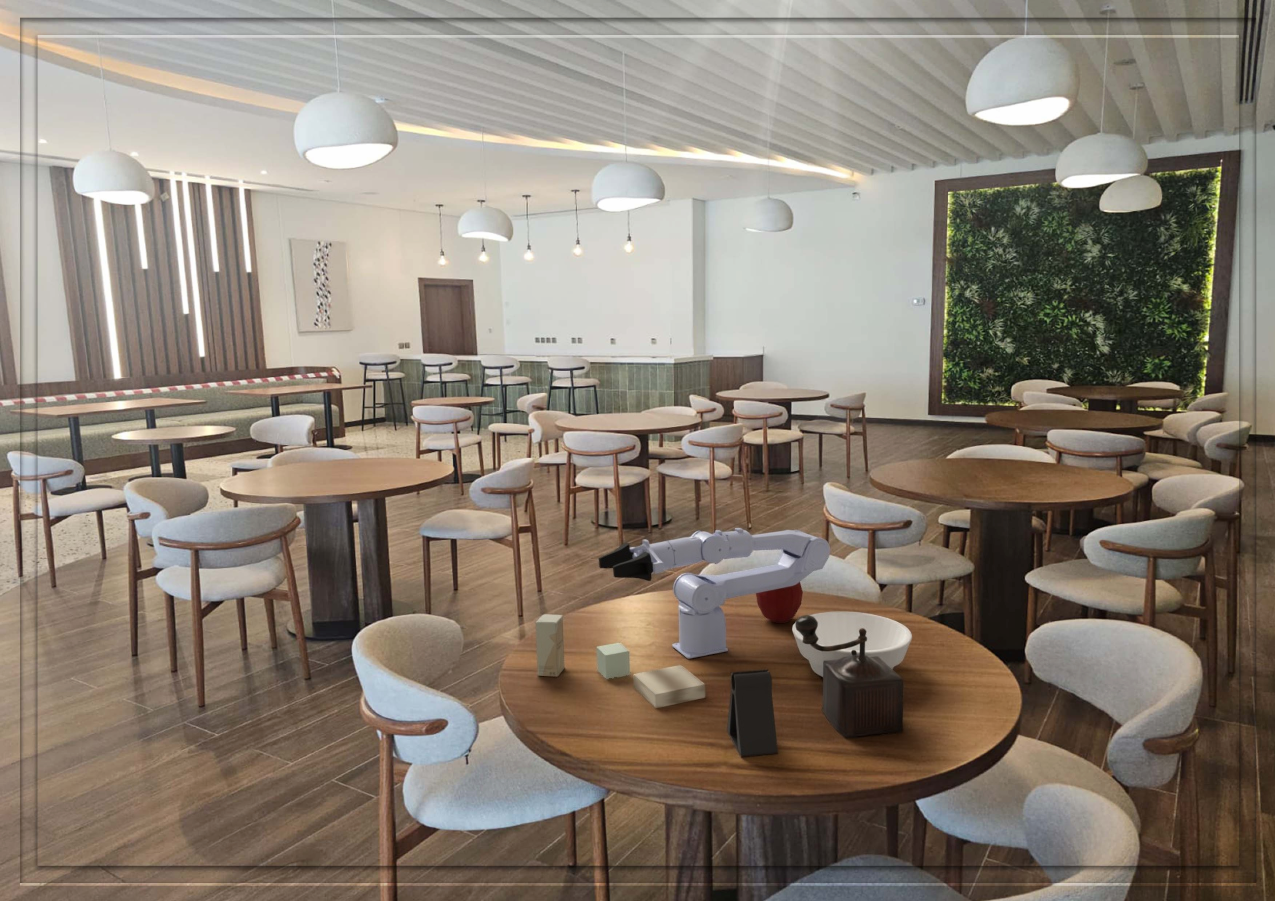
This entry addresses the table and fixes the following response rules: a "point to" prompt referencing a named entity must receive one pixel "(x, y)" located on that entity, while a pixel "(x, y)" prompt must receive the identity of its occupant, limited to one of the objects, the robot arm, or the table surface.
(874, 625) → the bowl
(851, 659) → the manual coffee grinder
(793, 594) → the apple
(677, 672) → the birch block
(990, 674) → the table surface
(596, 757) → the table surface
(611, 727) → the table surface
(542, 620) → the box
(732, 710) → the phone stand
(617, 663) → the sage cube
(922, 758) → the table surface
